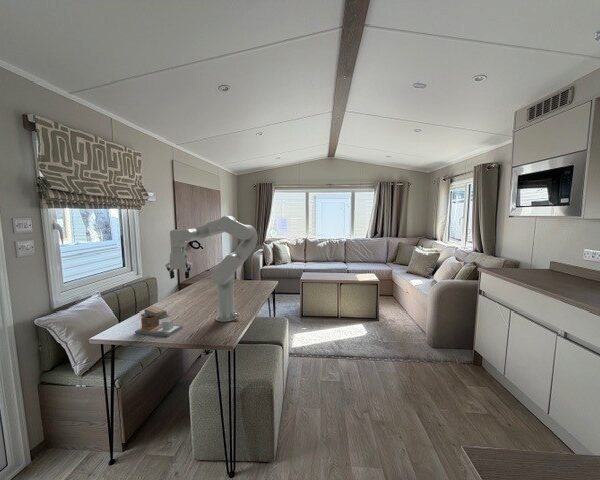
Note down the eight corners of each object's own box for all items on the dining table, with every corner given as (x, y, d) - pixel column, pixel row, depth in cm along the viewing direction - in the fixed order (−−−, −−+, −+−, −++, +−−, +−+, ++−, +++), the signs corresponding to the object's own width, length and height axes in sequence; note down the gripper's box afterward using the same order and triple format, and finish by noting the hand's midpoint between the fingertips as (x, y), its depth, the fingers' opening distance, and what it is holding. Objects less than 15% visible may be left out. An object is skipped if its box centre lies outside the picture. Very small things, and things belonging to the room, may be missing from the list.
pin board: (182, 328, 163) (182, 317, 162) (168, 336, 151) (167, 325, 151) (151, 325, 167) (150, 315, 167) (135, 334, 155) (134, 322, 155)
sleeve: (159, 325, 163) (158, 315, 162) (151, 329, 157) (150, 318, 156) (149, 325, 164) (149, 314, 163) (141, 329, 158) (141, 318, 157)
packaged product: (170, 309, 183) (153, 313, 176) (170, 316, 184) (154, 321, 176) (156, 304, 195) (140, 307, 187) (156, 311, 195) (141, 315, 187)
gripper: (194, 249, 179) (196, 276, 180) (168, 249, 182) (170, 277, 183) (187, 250, 172) (189, 279, 173) (160, 251, 174) (163, 279, 176)
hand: (179, 278), depth 178 cm, fingers open, 9 cm apart
